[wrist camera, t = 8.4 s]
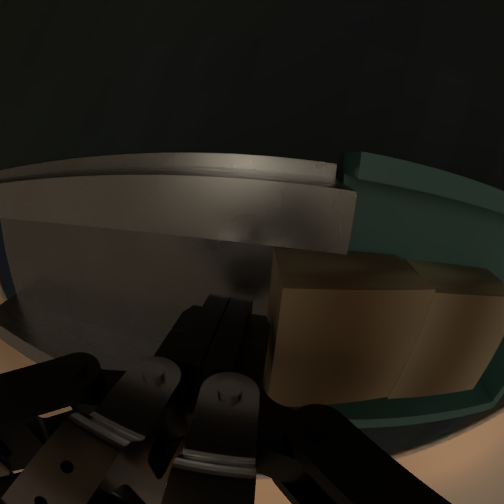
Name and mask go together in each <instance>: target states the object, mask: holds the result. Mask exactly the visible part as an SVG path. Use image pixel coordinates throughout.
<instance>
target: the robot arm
mask: <svg viewBox="0 0 504 504" xmlns="http://www.w3.org/2000/svg"><path fill="white" fill-rule="evenodd" d="M252 308H253V300H252V299H245V298H237V297H230V296H223V295H216V294H209V296H208V297H207V299H206V301H205V302H204V304H203V306H197V305H193V306H191V307H189V308H188V309H186V310H185V311H183V312H182V313H181V315H180V316H179V318H178V319H177V322H175V324H174V325H173V327H172V330H170V332H169V333H168V335H167V336H166V338H165V339H164V341H163V342H162V344H161V345H160V347H159V348H158V350H157V351H156V353H155V355H154V356H153V357H146V358H143V359H140V360H138V361H136V362H135V363H134V364H133V365H132V366H131V367H130V368H129V369H128V370H127V371H120V370H105V369H101V366H100V363H99V361H98V360H97V358H96V357H95V356H93V355H91V354H89V353H84V352H76V353H71V354H68V355H65V356H61V357H58V358H55V359H51V360H48V361H45V362H41V363H38V364H35V365H31V366H28V367H24V368H20V369H17V370H13V371H9V372H6V373H2V374H0V504H254V499H255V485H256V472H258V473H261V474H263V475H266V476H268V477H271V478H272V480H273V481H274V483H275V484H276V485H277V487H278V488H279V489H280V490H281V491H282V493H283V494H284V495H285V496H286V497H287V499H288V500H289V501H290V502H291V503H292V504H451V503H450V502H448V501H447V500H446V499H444V498H443V497H442V496H440V495H439V494H438V493H436V492H435V491H434V490H432V489H431V488H430V487H428V486H427V485H426V484H424V483H423V482H422V481H421V480H419V479H418V478H417V477H415V476H414V475H413V474H412V473H410V472H409V471H408V470H407V469H405V468H404V467H403V466H402V465H400V464H399V463H398V462H397V461H396V460H394V459H393V458H392V457H391V456H390V455H388V454H387V453H386V452H385V451H384V450H382V449H381V448H380V447H379V446H378V445H377V444H375V443H374V442H373V441H372V440H371V439H370V438H368V437H367V436H366V435H365V434H364V433H363V432H362V431H360V430H359V429H358V428H357V427H356V426H355V425H354V424H353V423H352V422H350V421H349V420H348V419H347V418H346V417H345V416H344V415H343V414H342V413H340V412H339V411H338V410H336V409H335V408H333V407H330V406H327V405H323V404H309V405H305V406H302V407H300V408H298V409H296V410H294V409H291V408H288V407H286V406H283V405H281V404H278V403H277V402H275V401H273V400H272V399H271V398H270V397H269V396H268V395H267V394H266V392H265V391H264V388H263V384H262V381H263V375H264V368H265V362H266V355H267V348H268V341H269V334H270V326H271V325H270V323H269V321H268V319H267V317H266V316H264V315H256V314H252ZM68 406H71V407H72V409H73V410H71V411H68V412H64V413H61V414H58V415H55V416H51V417H49V418H41V417H39V416H38V415H42V414H45V413H48V412H52V411H55V410H58V409H61V408H65V407H68ZM184 446H185V447H184ZM183 448H184V450H183ZM182 450H183V452H182ZM181 452H182V454H181ZM180 454H181V455H180ZM20 469H24V470H23V471H22V472H19V473H15V474H14V473H13V472H12V471H15V470H20ZM166 483H167V484H166Z"/></svg>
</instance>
